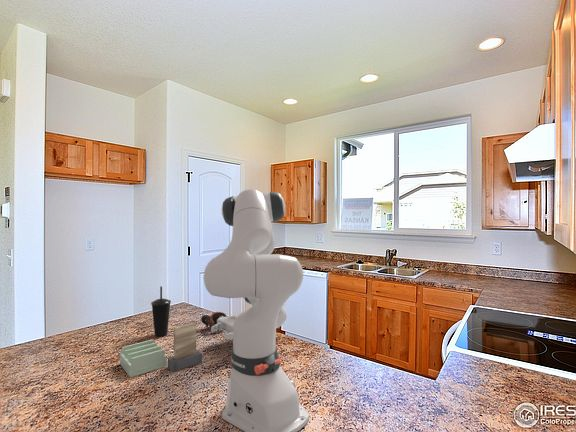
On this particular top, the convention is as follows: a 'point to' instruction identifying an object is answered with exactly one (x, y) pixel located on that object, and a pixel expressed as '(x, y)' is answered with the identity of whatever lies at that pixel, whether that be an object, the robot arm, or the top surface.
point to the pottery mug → (212, 319)
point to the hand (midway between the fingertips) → (218, 332)
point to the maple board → (184, 340)
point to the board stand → (184, 361)
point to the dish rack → (142, 358)
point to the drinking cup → (161, 315)
